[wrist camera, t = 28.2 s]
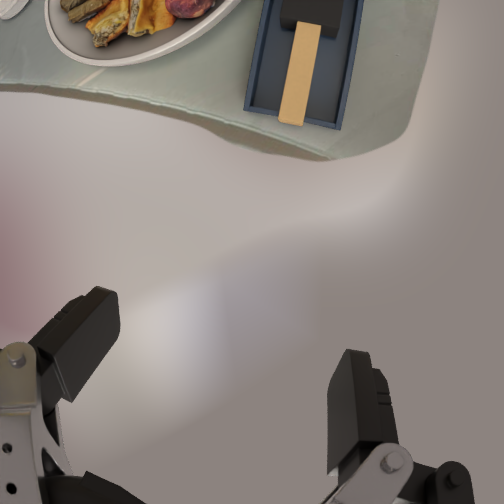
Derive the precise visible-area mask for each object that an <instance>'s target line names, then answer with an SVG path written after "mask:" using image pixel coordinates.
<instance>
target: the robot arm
mask: <svg viewBox="0 0 504 504" xmlns="http://www.w3.org/2000/svg"><path fill="white" fill-rule="evenodd" d="M119 332H120V316H119V306H118V296H117V293H116V292H114V291H112V290H108V289H106V288H102V287H99V286H96V287H94V288H93V289H92V290H91V291H90V292H89V293H88V294H87V295H86V296H83V295H81V296H79V297H77V298H75V299H73V300H71V301H69V302H68V303H67V304H66V305H65V306H64V307H63V308H62V309H61V311H59V312H58V313H57V314H56V315H55V316H54V318H52V319H51V320H50V321H49V322H48V323H47V324H46V325H45V326H44V327H43V328H42V329H41V330H40V331H39V332H38V333H37V334H36V335H35V336H34V337H33V338H32V339H31V340H30V341H29V342H28V343H25V342H15V343H11V344H9V345H7V346H6V347H5V348H4V349H0V504H146V503H144V502H143V501H141V500H140V499H138V498H137V497H135V496H134V495H132V494H131V493H129V492H128V491H126V490H125V489H123V488H122V487H120V486H118V485H116V484H114V483H112V482H109V481H107V480H105V479H103V478H101V477H98V476H96V475H94V474H92V473H90V472H88V471H86V472H85V474H84V476H83V477H79V476H73V473H72V470H71V466H70V464H69V461H68V459H67V457H66V454H65V450H64V444H63V438H62V431H61V424H60V416H59V408H58V404H57V403H58V401H59V400H60V399H61V398H63V399H65V400H67V401H69V402H71V403H72V402H73V401H74V399H75V398H76V396H77V395H78V393H79V392H80V391H81V389H82V388H83V386H84V385H85V383H86V382H87V380H88V379H89V378H90V376H91V375H92V374H93V372H94V371H95V369H96V368H97V366H98V365H99V364H100V362H101V361H102V359H103V358H104V357H105V355H106V354H107V353H108V351H109V350H110V349H111V347H112V346H113V344H114V343H115V342H116V340H117V338H118V336H119ZM389 394H390V392H389V388H388V383H387V380H386V378H385V377H384V376H383V374H382V373H381V371H380V369H375V368H372V364H371V359H370V355H369V353H368V352H363V351H357V350H351V349H346V351H345V352H344V354H343V356H342V358H341V360H340V362H339V364H338V366H337V368H336V370H335V372H334V374H333V376H332V378H331V380H330V383H329V387H328V393H327V405H328V455H327V475H328V476H338V485H337V486H336V487H335V488H334V489H333V490H332V491H331V492H330V493H329V494H328V495H327V496H326V497H325V498H324V499H323V500H322V501H321V502H320V503H319V504H475V502H474V495H473V489H472V482H471V477H470V474H469V472H468V470H467V469H466V468H465V466H463V465H462V464H461V463H458V462H454V461H448V462H445V463H444V464H442V465H441V466H440V467H439V468H432V467H429V466H425V465H422V464H419V463H416V462H414V461H413V460H412V457H411V455H410V454H409V452H408V451H407V450H406V449H405V448H404V447H402V446H400V445H399V442H398V436H397V430H396V424H395V418H394V413H393V408H392V406H391V403H392V402H391V397H390V396H389Z"/></svg>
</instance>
